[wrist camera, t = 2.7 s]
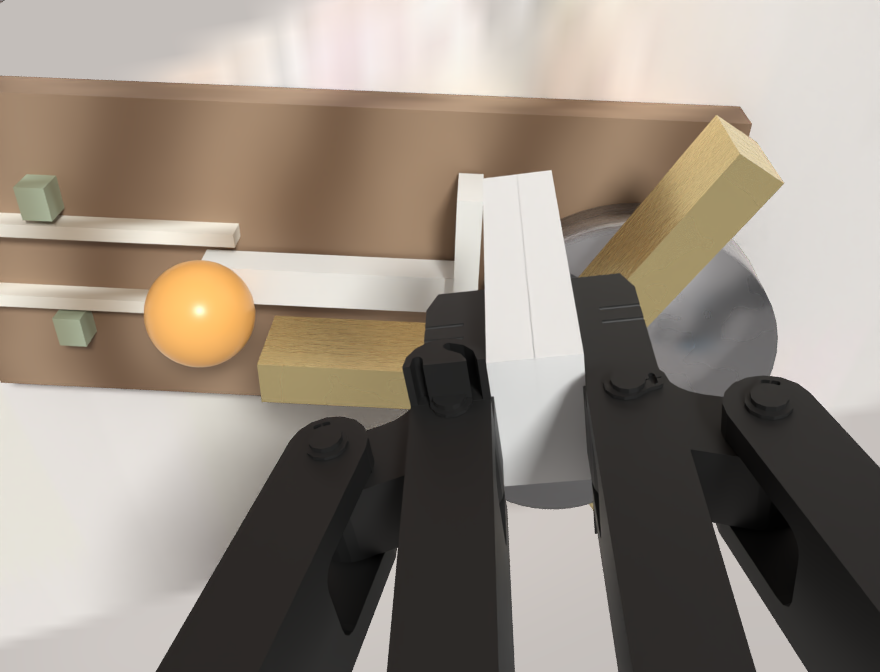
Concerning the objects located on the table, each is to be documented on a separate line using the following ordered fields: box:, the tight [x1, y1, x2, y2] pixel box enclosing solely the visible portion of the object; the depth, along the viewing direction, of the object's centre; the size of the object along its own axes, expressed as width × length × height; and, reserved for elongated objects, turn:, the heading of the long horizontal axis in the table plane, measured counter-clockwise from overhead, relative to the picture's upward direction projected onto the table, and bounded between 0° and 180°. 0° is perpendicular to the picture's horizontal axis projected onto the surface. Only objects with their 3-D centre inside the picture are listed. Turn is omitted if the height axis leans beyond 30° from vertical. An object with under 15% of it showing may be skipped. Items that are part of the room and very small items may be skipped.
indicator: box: [144, 173, 484, 367], centre depth 28 cm, size 11×8×5 cm
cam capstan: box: [257, 115, 784, 511], centre depth 25 cm, size 16×14×8 cm
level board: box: [0, 76, 752, 396], centre depth 30 cm, size 27×12×2 cm, turn 89°
